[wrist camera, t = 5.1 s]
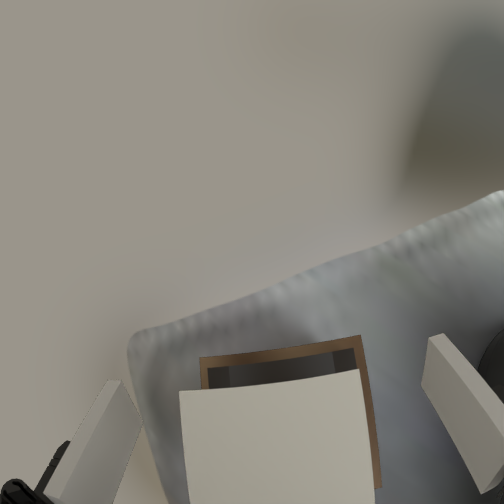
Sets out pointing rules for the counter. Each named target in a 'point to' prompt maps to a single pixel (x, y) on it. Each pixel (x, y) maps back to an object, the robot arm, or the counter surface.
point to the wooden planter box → (296, 373)
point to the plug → (279, 443)
